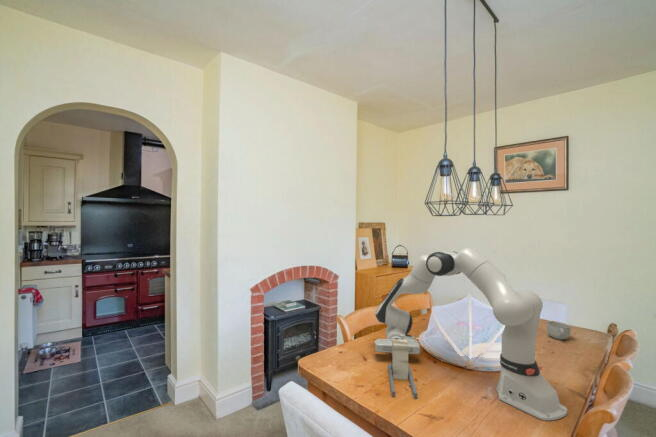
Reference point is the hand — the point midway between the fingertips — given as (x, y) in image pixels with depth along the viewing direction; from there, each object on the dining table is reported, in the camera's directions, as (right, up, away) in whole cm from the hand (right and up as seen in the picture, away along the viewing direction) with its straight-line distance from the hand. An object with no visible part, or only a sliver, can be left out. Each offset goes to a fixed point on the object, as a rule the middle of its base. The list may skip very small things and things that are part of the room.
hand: (398, 353), depth 139 cm
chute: (-2, -7, -12) cm, 14 cm away
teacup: (+98, -8, +37) cm, 105 cm away
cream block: (-1, -6, -7) cm, 9 cm away
